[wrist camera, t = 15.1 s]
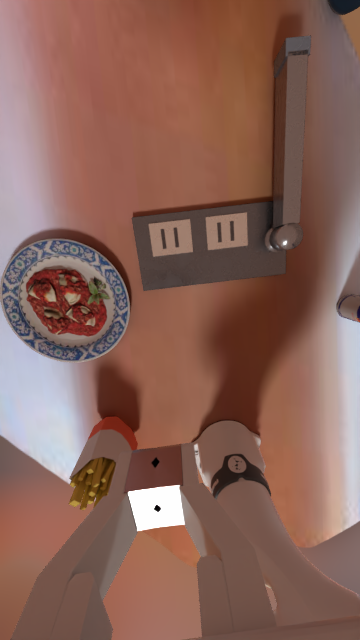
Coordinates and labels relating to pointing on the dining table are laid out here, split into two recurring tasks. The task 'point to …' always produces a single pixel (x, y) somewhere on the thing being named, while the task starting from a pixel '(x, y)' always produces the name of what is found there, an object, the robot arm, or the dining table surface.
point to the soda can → (343, 6)
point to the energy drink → (349, 307)
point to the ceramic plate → (64, 300)
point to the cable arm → (289, 140)
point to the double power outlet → (207, 246)
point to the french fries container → (100, 460)
